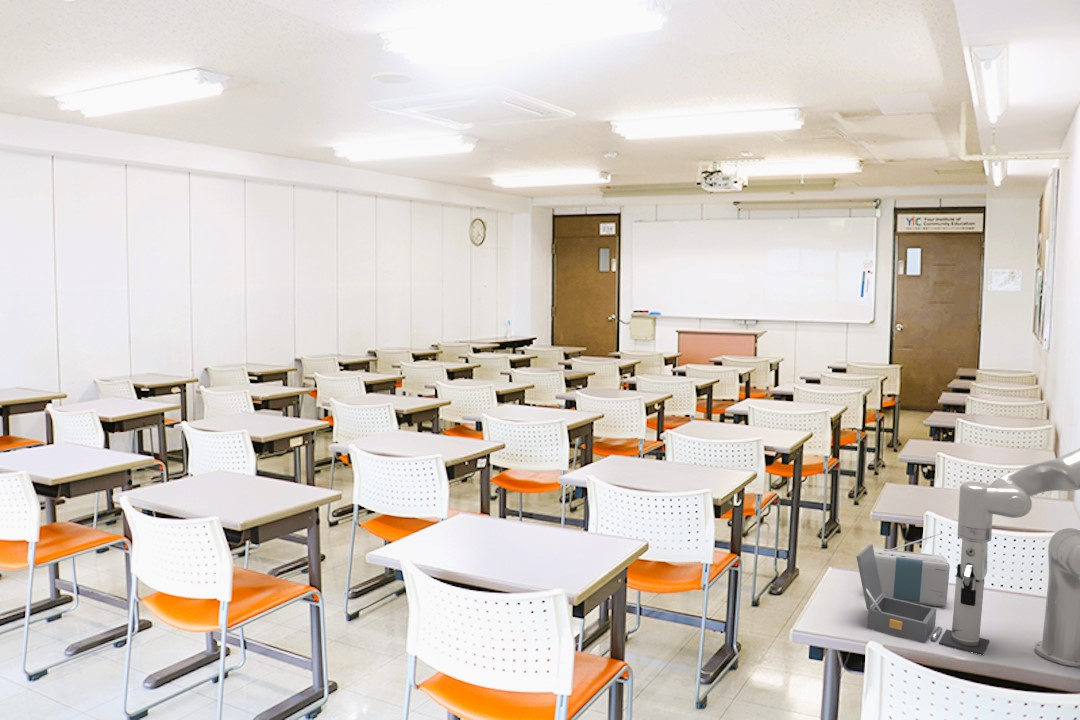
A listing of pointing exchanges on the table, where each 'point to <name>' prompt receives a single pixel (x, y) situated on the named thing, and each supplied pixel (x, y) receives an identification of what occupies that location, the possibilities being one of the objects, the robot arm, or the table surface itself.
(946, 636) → the pad
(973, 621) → the travel mug
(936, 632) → the rod
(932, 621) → the case
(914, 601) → the stereo radio cassette player
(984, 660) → the table surface
